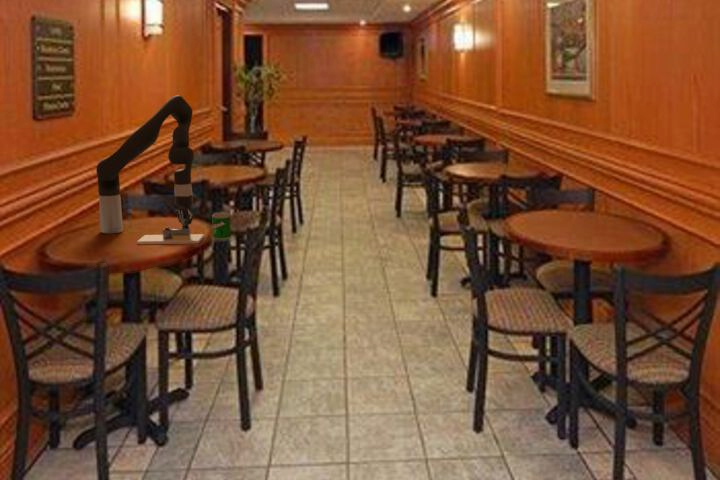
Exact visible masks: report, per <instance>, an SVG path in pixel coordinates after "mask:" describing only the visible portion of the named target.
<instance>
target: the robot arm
mask: <svg viewBox="0 0 720 480" xmlns="http://www.w3.org/2000/svg"><path fill="white" fill-rule="evenodd" d="M169 116H171V117H172V118H173V119H174V120H175V121H176V122H177V126H176V127H175V128H174V130H173V132H172V144H171V146H170V149H169V151H168V161H169V162H170V163H171V164H172V165H185V166H184V167H183V168H180V169H176V170H175V171H174V173H173V179H174V182H173V183H174V189H173V190H174V204H175V206H177V209H178V210H176V211H175V215H176V216H177V220H178V222H179V223H180V224H181V226H182V228H181V229H183V228H189V225H191V224H192V223H193V219H194V217H195V214H194V213H192V209H191V206H192V205H193V204H194V199H193V186H192V166H193V162H194V159H195V153H194V150H193V148H191V147H190V128H191V123H192V119H193V108H192V106H191V105H190V104H189V103H188V102H187V101H186V100H185V99H184V97H182V95H179V94H177V95H174V96H172V97H171V98H170V99H168V100H167V102H166V103H165V104H163V105H162V107H160V109H159V110H158V111H157V112H156V113H155V114H153V116H151V118H149V119H148V120H147V121H146V122H144V124H143V125H141V126H140V127H139V128H137V129H136V130H135V131H134V132H133V133H132V134H131V135H130V136H128V138H127V139H126V140H125V141H124V142H123V143H122V144H121V146H120V147H119V148H118V149H117V150H116V151H115V152H113V153H112V154H111V155H109V156H108V157H107V158H103V159H101V160H100V161H98V163H97V165H96V170H95V171H96V176H97V189H98V190H97V191H98V199H99V200H98V202H99V211H98V218H99V219H98V221H99V230H100V232H101V233H103V234H108V235H110V234H118V233H122V232H123V230H124V227H123V214H122V213H123V212H122V202H121V201H122V200H121V185H120V175H119V174H120V172H121V171H123V170H124V169H125V167H126V166H127V165H128V164H129V163H130V162H132V161H133V160H135V159H136V158H138V157H139V156H140V155H142V154H143V153H144V152H146V151H147V150H148V149H150V148H151V146H153V145H154V144H155V143H156V142H157V140H158V138H159V136H160V132H161V128H162V126H163V124H164V122H165V121H166V120H167V118H169Z"/></svg>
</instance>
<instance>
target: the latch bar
mask: <svg viewBox="0 0 720 480" xmlns="http://www.w3.org/2000/svg"><path fill="white" fill-rule="evenodd" d="M188 227H189V226H188ZM191 234H192V233H191V227H189V228H183V229H182V228H170V227H164V229H162V235H163V238H164V239H170V238H173V236H174V235H190V237H191Z"/></svg>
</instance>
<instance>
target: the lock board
mask: <svg viewBox="0 0 720 480" xmlns="http://www.w3.org/2000/svg"><path fill="white" fill-rule="evenodd" d="M204 238H205V234H204V233H203V234H202V233H200V234H199V233H197V234H196V233H195V234H193V233H191V237H190V235H174V236H173V238H170V239H164V238H163V234H144V235H143V236H141V238H140V239H138V240H137V241H136V245H173V244H174V245H175V244H176V245H178V244H181V245H183V244H184V245H185V244H193V245H194V244H199V243H201V241H202V240H203V239H204Z"/></svg>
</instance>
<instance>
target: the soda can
mask: <svg viewBox="0 0 720 480" xmlns="http://www.w3.org/2000/svg"><path fill="white" fill-rule="evenodd" d="M230 216H231V215H230V214H229V212H227V211H216V212H213V214H211V222H212V226H211V227H212V238H213V240H214V241H215V242H229V240H230V239H231V235H232V234H231V217H230Z"/></svg>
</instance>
